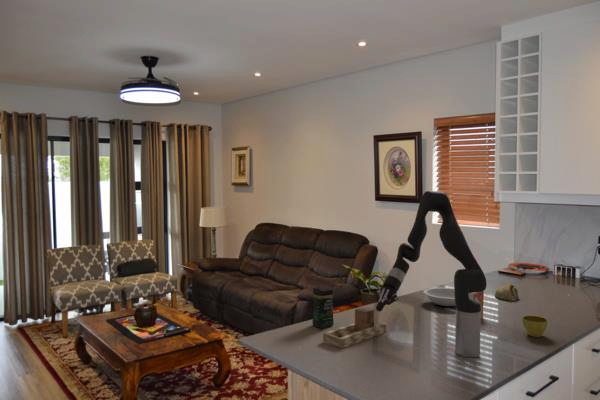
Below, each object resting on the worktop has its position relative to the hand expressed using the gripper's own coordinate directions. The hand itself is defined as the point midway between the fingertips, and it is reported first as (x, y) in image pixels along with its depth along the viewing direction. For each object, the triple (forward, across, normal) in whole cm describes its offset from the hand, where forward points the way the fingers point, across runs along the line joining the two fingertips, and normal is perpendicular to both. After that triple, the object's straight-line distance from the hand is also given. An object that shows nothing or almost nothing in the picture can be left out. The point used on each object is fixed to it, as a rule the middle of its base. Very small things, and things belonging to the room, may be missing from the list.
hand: (378, 310), depth 214 cm
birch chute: (+17, 0, -5) cm, 18 cm away
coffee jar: (+17, -20, -4) cm, 27 cm away
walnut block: (+12, 0, -2) cm, 12 cm away
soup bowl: (-35, +1, +48) cm, 59 cm away
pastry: (-62, +17, +75) cm, 98 cm away
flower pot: (-24, +52, +36) cm, 68 cm away
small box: (-28, +21, +40) cm, 53 cm away
